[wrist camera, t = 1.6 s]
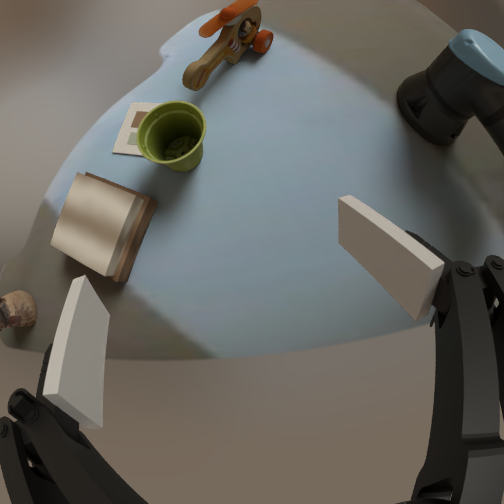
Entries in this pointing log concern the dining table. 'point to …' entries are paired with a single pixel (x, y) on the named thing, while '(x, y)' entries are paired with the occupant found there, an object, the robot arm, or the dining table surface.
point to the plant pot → (172, 135)
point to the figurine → (17, 310)
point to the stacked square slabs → (103, 225)
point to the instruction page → (132, 128)
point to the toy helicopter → (228, 40)
